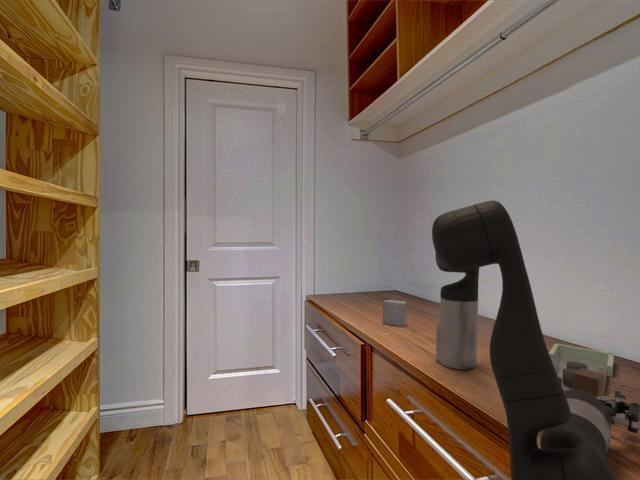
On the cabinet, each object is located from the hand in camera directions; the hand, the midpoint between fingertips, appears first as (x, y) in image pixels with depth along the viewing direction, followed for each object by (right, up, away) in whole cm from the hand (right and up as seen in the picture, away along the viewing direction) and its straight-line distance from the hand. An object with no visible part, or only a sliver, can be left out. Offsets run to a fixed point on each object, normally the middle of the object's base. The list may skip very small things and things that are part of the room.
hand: (587, 389), depth 65 cm
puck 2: (+8, -5, +15) cm, 17 cm away
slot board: (+12, -6, +20) cm, 24 cm away
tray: (+20, -6, +28) cm, 35 cm away
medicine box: (-21, -4, +67) cm, 71 cm away
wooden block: (+2, -6, +3) cm, 7 cm away
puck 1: (+12, -5, +19) cm, 23 cm away
